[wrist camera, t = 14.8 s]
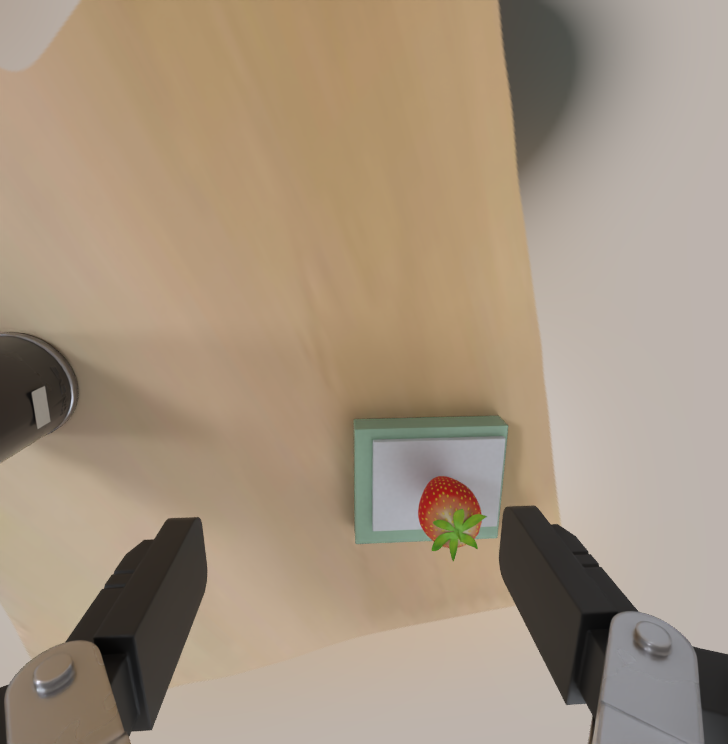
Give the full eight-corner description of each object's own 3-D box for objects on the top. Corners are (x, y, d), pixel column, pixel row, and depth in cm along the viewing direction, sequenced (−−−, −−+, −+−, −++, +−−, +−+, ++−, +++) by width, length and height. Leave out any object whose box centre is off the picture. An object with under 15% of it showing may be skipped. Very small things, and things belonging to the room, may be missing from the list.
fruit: (474, 495, 40) (506, 553, 32) (424, 519, 40) (444, 582, 33) (450, 449, 39) (479, 499, 31) (399, 474, 39) (414, 530, 31)
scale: (354, 530, 44) (355, 550, 41) (353, 418, 41) (354, 432, 38) (488, 524, 45) (499, 544, 42) (498, 415, 41) (511, 428, 38)
